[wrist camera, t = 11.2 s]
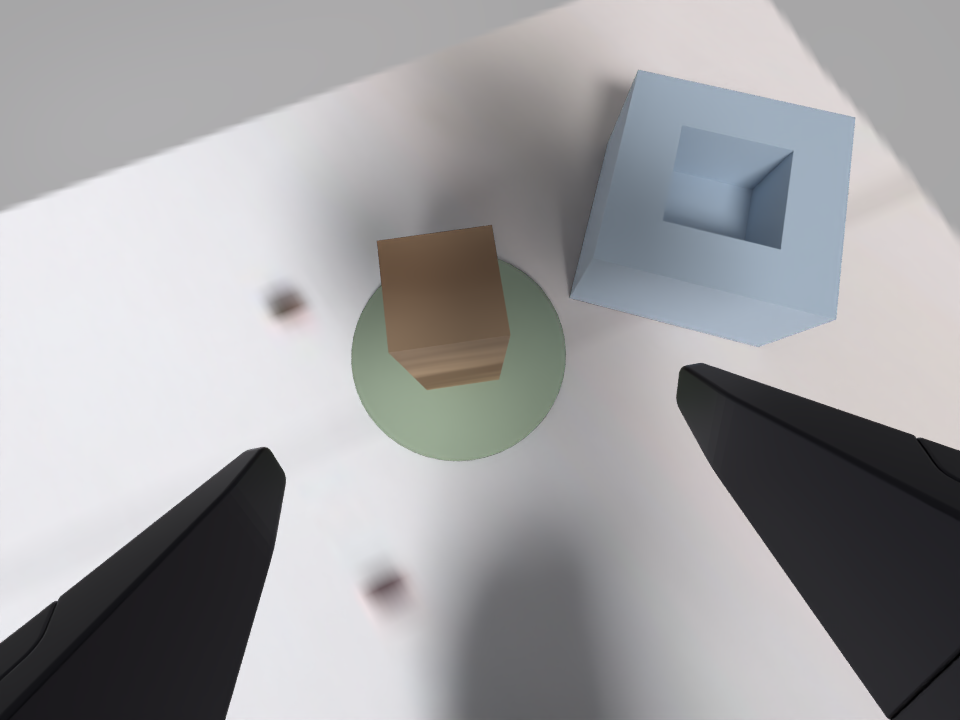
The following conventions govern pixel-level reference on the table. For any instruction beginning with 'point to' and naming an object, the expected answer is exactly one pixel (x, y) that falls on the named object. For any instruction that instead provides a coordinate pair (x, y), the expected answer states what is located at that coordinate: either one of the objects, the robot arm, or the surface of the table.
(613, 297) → the slate-blue holder
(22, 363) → the table surface
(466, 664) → the table surface
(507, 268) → the sage-green mat
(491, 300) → the walnut peg
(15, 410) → the table surface
